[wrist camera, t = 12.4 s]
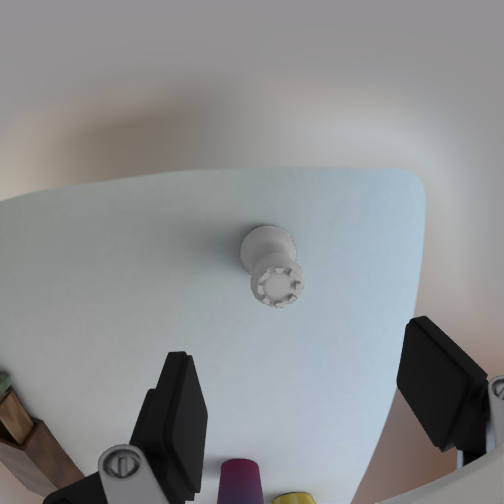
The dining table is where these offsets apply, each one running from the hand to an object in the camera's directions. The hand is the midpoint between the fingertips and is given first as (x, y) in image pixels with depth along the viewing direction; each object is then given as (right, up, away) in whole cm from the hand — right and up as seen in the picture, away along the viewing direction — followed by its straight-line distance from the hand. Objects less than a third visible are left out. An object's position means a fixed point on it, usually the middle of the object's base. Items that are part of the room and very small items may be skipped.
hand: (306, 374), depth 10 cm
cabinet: (-38, -29, +23) cm, 54 cm away
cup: (-3, -25, +24) cm, 34 cm away
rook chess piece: (-1, +4, +15) cm, 16 cm away
